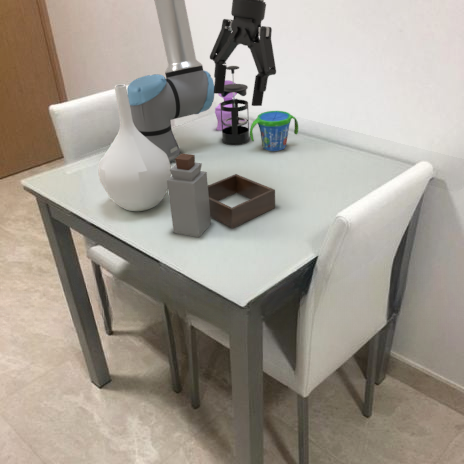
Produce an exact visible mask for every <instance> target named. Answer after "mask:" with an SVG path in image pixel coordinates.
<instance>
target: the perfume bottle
mask: <svg viewBox="0 0 464 464" xmlns="http://www.w3.org/2000/svg"><path fill="white" fill-rule="evenodd" d="M195 159H196V157H195V154H192V153H181V152H180V155H179V156H178V157H176V158H175V161H174V162H175V165H173V166H172V167H171V169H170V172H171V177H170V178H169V179H168V180H167V186H168V190H167V193H168V200H169V207H170V215H171V222H172V229H173V234H178V235H184V236H189V237H195V238H200V237H201V236H202V235H203V234H204V232H205V231H206V230H207V229H208V228H209V227H210V226H211V224H212V218H211V217H210V206H209V194H208V185H209V184H208V183H209V182H208V172H207V171H204V170H203V171H202V166H203V163H202V162H196V161H195Z"/></svg>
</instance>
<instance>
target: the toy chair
mask: <svg viewBox="0 0 464 464" xmlns="http://www.w3.org/2000/svg"><path fill="white" fill-rule="evenodd" d="M228 84H233V80H228V79H227V80H226V79H225V85H228ZM234 84H237V83H236V82H234ZM237 94H238V93H235V92H234V96H235V97H236V95H237ZM217 95H218V96H219V97H221V98H222V99H223V102H224V101H227V100H232V99H233V92H232V93H229V94H228V95H226V96H225V97H222V96H221V94H217ZM221 103H222V102H219V104H218V105H217V106H216V107H215V108H214V114H215V117H216V120H217V126H216V128H215V130H216V131H222V123H223V122H221V106H220V104H221ZM224 107H231V108H232V104H228V105H225V106H224ZM230 117H231V112H227V111H223V110H222V121H223V120H224V119H226V118H230ZM226 127H229V126H225V125H223V129H224V128H226Z"/></svg>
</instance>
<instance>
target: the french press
mask: <svg viewBox="0 0 464 464" xmlns="http://www.w3.org/2000/svg"><path fill="white" fill-rule="evenodd" d="M239 69H240V66H238V65H229V66H227V68H226V71H227V70H228V71H230V73H231V74H232V75H231V76H232V77H231V78H232V81H233V84H228V85H224V93H222V94H221V96H222V97H225V96H226V95H228V94H229V93H232V92H233V98H232V100H227V101H224V100H223V101H221V102H220V103H221V104H220V103H219V104H220V106H221V122H223V123H222V130H221V137H222V138H221V142H222V143H223V144H224V145H229V146H241V145H244V144H247V143H249V142H250V141H251V137H250V119H249V117H250V116H249V114H247V118H246V117H243V116H239V112H243V111H245V110H246V111H247V112H249V102H248V100H246V99H245V100H244V99H239V98H235V97H236V95H235V96H234V92H235V93H237V94H238V95H240V96H241V97H245V96H247V90H248V89H249V86H248V85H247V84H243V83H236V84H234V83H235V77H234V76H235V75H234V74H235V70H239ZM222 97H221V98H222ZM228 104H232V108H231V107H224V106H225V105H228ZM239 105H241V106H239ZM222 110H223V111H227V112H231V117H230V118H226V119H224V120H223V121H222ZM223 125H225V126H229V127H226V128H224V129H223ZM246 125H247V126H246Z"/></svg>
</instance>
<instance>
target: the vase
mask: <svg viewBox="0 0 464 464" xmlns="http://www.w3.org/2000/svg"><path fill="white" fill-rule="evenodd" d="M114 92H115V93H114V94H115V98H116V105H117V112H118V118H119V129H118V133H117V134H116V136H115V138H114V139H113V141H112V142H111V144H110V146H109V148H108V149H107V150H106V152H105V153H104V154H103V155H102V157H101V158H100V160H99V161H98V178H99V181H100V184H101V185H102V187H103V189H104V191H105V192H106V194H107V195H108V197H109V198H110V200H112V202H113V203H115V204H116V205H117V206H119V207H120V208H122V209H123V210H125V211H129V212H143V211H148V210H150V209H153V208H155V207H157V206H158V205H159V204H160V202H162V201H163V199H164V197H165V195H166V194H167V193H168V186H167V180H168V179H169V178H170V177H171V176H172V174H171V172H170V169H171V168H172V167H171V162H169V159H168V157H167V154H166V153H165V152H164V151H162V150H161V149H160V148H158V147H157V146H156V145H154V144H153V143H152V142H150V141H149V140H148V139H147V138H146V137H145V136H144V135H142V134H141V133H140V132H139V131H138V130H137V128H136V127H135V125H134V123H133V121H132V115H131V109H130V104H129V99H128V92H127V85H126V84H124V83H120V84H116V85H114Z"/></svg>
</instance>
